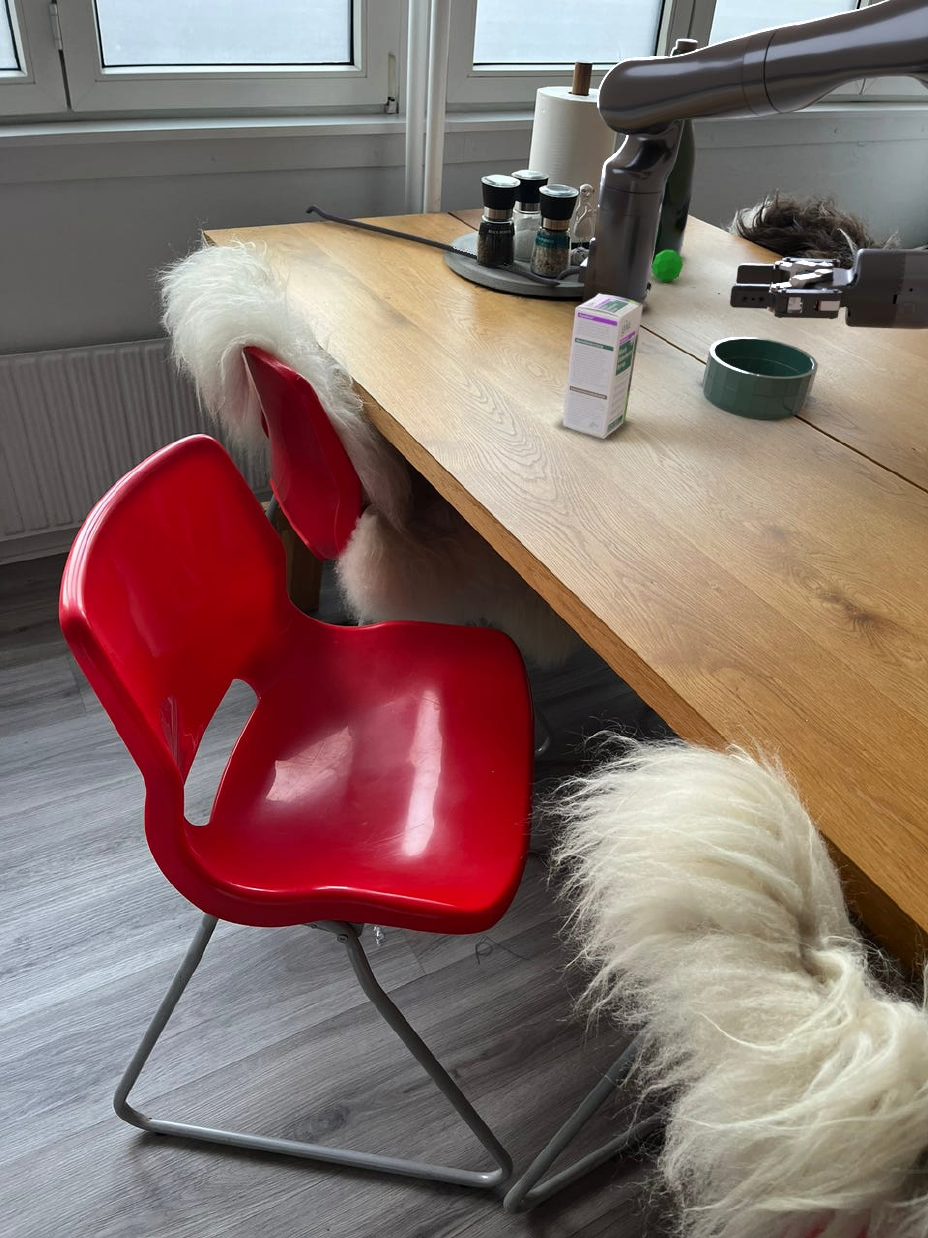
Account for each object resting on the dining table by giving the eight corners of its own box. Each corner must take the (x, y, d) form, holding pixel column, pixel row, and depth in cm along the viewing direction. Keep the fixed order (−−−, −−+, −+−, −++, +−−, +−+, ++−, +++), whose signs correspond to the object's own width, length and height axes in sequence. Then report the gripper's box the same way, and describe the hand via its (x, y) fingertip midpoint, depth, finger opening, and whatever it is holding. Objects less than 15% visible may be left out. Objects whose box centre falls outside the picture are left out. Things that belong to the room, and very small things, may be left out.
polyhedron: (684, 280, 158) (690, 250, 155) (673, 287, 155) (678, 257, 152) (656, 273, 160) (661, 244, 157) (645, 280, 157) (650, 251, 154)
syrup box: (605, 440, 109) (624, 316, 100) (559, 426, 111) (575, 303, 102) (625, 423, 113) (646, 302, 104) (581, 409, 115) (598, 290, 106)
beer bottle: (644, 265, 163) (681, 43, 143) (610, 247, 171) (641, 34, 151) (692, 259, 167) (735, 43, 147) (657, 242, 175) (693, 34, 155)
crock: (693, 408, 117) (702, 365, 114) (708, 369, 128) (717, 330, 124) (801, 429, 114) (814, 386, 111) (808, 388, 124) (820, 348, 121)
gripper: (903, 234, 98) (742, 232, 102) (914, 267, 87) (732, 263, 91) (889, 307, 102) (734, 302, 107) (897, 348, 91) (724, 340, 95)
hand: (734, 284), depth 99 cm, fingers open, 8 cm apart
